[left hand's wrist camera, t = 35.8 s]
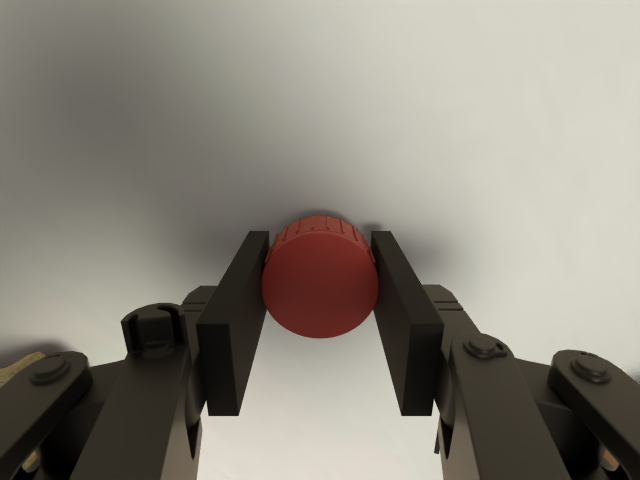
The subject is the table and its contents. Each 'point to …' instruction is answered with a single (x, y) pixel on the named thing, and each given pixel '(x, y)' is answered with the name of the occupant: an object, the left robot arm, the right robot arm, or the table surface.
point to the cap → (320, 278)
